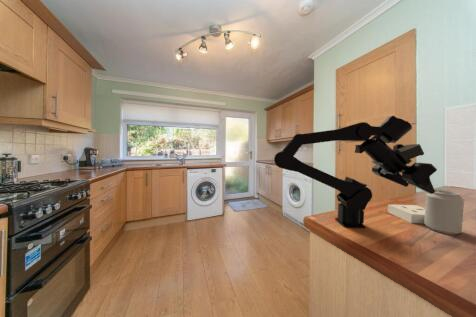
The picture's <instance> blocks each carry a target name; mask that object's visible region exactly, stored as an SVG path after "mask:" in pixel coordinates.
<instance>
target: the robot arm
mask: <svg viewBox="0 0 476 317" xmlns="http://www.w3.org/2000/svg"><path fill="white" fill-rule="evenodd" d="M412 129H413V126H412V124H411V123H410V122H409V121H408V120H404V119H402V118H400V117H396V116H395V115H391V116H388V117H387V118H386V119H385V120H384V121H383V122H382V123H381V124H379V125H378V126H375V125H374V126H373V125H371V124H369V123H368V122H366V121H365V122H363V121H362V122H357V123H354V124H350V125H348V126H344V127H340V128H337V129H331V130H330V129H329V130H323V131H316V132H309V133H306V132H305V133H296V134H295V135H293V136H292V138H291V140H290V141H289V142H288V143H287V144H286V146H284V147H283V149H282V150H280V151H278V152H276V153H275V154H274V157H273V161H274V164H275V165H276V167H278V168H280V169H282V170H283V169H284V170H288V171H291V172H296V173H299V174H302V175H304V176H306V177H308V178H310V179H312V180H314V181H317V182H319V183H322V184H324V185H325V186H328V187H330V188H332V189H334V190H336V191H338V192H339V193H338V194H337V195H336V196H335V197H336V199H337V201H338V202H339V203H337V217H335V220H336V221H337V222H338V223H339V224H340V225H342V226H343V227H345V228H361V229H363V228H366V225H365V224H364V222H365V220H364V219H365V209H366V208H367V205H368V203H369V202H370V201H371V200H372V198H373V193H372V190H371V189H370V188H369V187H368V184H366V183H364V182H360V181H359V180H356V179H354V178H351V177H350V176H345V179H342V178H338V177H336V176H333V175H331V174H329V173H327V172H324V171H322V170H321V169H318V168H316V167H314V166H311V165H309V164H306V163H305V162H302V161H301V160H300V159H298V158H297V157H295V156H296V154H297V152H298V151H299V149H300V148H301V147H302V146H303V145H310V144H317V143H318V144H319V143H327V142H350V143H351V142H352V143H353V142H361V143H360V144H355V149H354V153H355V154H363V153H365V154H366V155H367V156H368V157H369V158H371V159H372V161H371V162H372V164H374V166H372V167H371V171H372V173H373V174H375V175H376V176H378V177H381V178H384V179H386V180H388V181H390V182H393V183H396V184H398V185H399V186H403V187H405V188H406V187H409V185H411V186H413V187H415V188H417V189H420V190H421V191H424V192H426V193H427V194H428V193H430V194H433V193H434V192H435V190H436V189H435V187H434V185H433V183H432V180H431V176H432V175H433V174H435V173H436V172H437V167H435V165H433V164H432V163H428V162H414V163H413V164H411V165H408V164H410V163H411V162H412V159H414V158H416V157H420V156H423V155H425V152H424V150H423V148H422V146H421V144H420V143H417V144H415V143H413V144H412V143H411V144H410V143H409V144H405V145H404V144H402V143H397V142H398V141H399V140H401V139H402V138H403V137H404V136H406V134H408V133H409V132H410V131H411V130H412ZM390 143H391V144H395V143H397V144H395V145H393V147H392V148H391V146H390V145H389V144H390Z"/></svg>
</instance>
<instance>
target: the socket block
mask: <svg viewBox="0 0 476 317" xmlns="http://www.w3.org/2000/svg"><path fill="white" fill-rule="evenodd" d="M387 213H389V214H391V215H393V216H395V217H398V218H400V219H402V220H404V221H406V222H407V223H411V224H425V223H424V219H425V207H421V206H419V205H416V204H387Z"/></svg>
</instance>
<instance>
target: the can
mask: <svg viewBox="0 0 476 317" xmlns="http://www.w3.org/2000/svg"><path fill="white" fill-rule="evenodd" d="M434 190H435V192H434V193H433V194H430V193H428V192H427V193H426V194H425V203H424V204H425V205H424V206H425V207H424V208H425V219H424V223H423V224H424V225H425V226H426V227H427V229H430V230H432V231H434V232H436V233H437V232H438V233H441V234H445V235H458V234H459V233H462V231H463V221H464V207H465V204H464V203H465V199H464V198H463V197H462V194H461V193H459V192H455V191H450V190H442V189H434Z"/></svg>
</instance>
